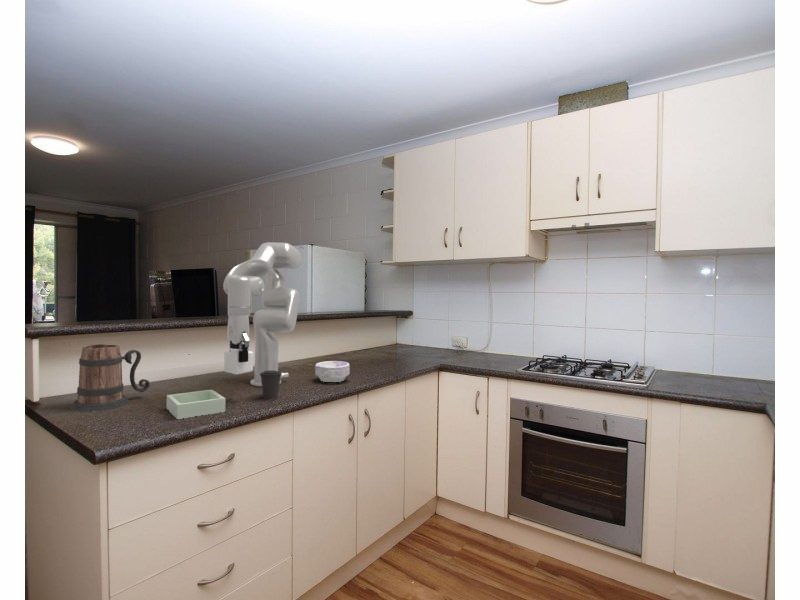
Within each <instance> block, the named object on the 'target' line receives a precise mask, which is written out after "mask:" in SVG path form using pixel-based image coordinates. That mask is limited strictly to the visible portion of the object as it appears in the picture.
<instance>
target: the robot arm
mask: <svg viewBox="0 0 800 600" xmlns="http://www.w3.org/2000/svg"><path fill="white" fill-rule="evenodd" d="M257 248H258V249H257V250H256V251H255V253H254V254H253V256H252V257H251V258H250V259H248V260H246V261H243V262H241V263H239V264H237V265H236V266H234V267H232V268H231V269H230V270H229V272H228V273H227V275H226V276H225V278H224V280H223V284H222V285H223V286H222V287H223V291H224V293H225V294H226V295H227V316H228V318H227V327H226V328H227V330H226V331H227V332H226V333H227V334H226V341H227V342H228V343H230V340H231V341H232V343H233V344H235V345H236V344H238V345H239V349H240V351H239V362H248V351H250V350H249V348H250V319H249V317H250V316H251V297H259V296H261V295H262V298H261V304H262V307H263V308H265V309H258V310H257V311H256V312H255V313H254V314H253V318H252V324H253V328H254V330H253V331H254V377H253V379H251V380H250V382H249V383H250V385H251V386H254V387H255V386H256V387H262V383H261V376H260V373H262V372H264V371H278V372H279V340H278V338H277V336H276V334H275V333H291V332H293V331H294V330H295V327H296V324H297V318H298V313H299V308H300V302H301V301H300V299H301V298H300V293H299V291H298V290H297V289H295V288H293V287H292V288H291V287H290V288H289V287H286V285H287V279H286V277H285V276H284V275H283V273H282V272H281V271H280V270H279V269H285V270H286V269H290V270H294V269H297V268H299V267H300V265H301V263H302V255H301V252H300V251H299V250H298V249H297V248H296V247H294V245H292V244H290V243H288V242H270V241H268V242H264V243H262V244H261V245H259V246H258V247H257ZM264 276H265V277H266V280H265V282H264V280H263V279H262V278H261V277H264ZM241 341H244V342H241ZM242 345H243V346H242ZM229 351H231V350H230V349H229ZM281 373H282V375H281V378H280V384H281V383H282V379H283V378H289V375H290V374H289V372H281Z"/></svg>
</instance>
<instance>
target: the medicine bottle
mask: <svg viewBox="0 0 800 600" xmlns="http://www.w3.org/2000/svg"><path fill="white" fill-rule="evenodd" d="M241 342H244V341H241ZM242 346H243V345H242ZM230 350H231V351H230ZM239 351H240V349H239V345H238V344H236V345H235V344H233V343H232V341H231V340H230V342H229V351H224V362H223V364H224V369H223V370H224V372H225V373H230V374H233V375H242V374H246V373H251V372H253V371H254V351H251V350H248V362H239Z"/></svg>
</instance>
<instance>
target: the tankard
mask: <svg viewBox="0 0 800 600" xmlns="http://www.w3.org/2000/svg"><path fill="white" fill-rule="evenodd" d="M132 354H136V357H135V360H134V362H132V358H133V357H132ZM141 359H142V353H141V352H140V351H139V350H136V349H130V350H128V351H127V352H126V353H125V354H124V355H123V356H122V353H121V348H120V345H117V344H103V343H102V344H99V343H98V344H90V345H87V346H83V347H82V350H81V354H80V358H79V359H78V365H79V370H78V371H79V373H78V375H79V376H78V387H77V388H76V394H77V399H76V400H74V401H73V402H72V405H71V406H70V407H69V408H70V409H71V410H73V411H72V412H75V411H79V412H78V413H92V412H91V411H99V412H104V411H103V410H107V411H111V410H110V409H112V410H116V409H115V408H117V409H120V408H119V407H121V408H123V407H122V406H124V407H126V406H128V405H130V403H131V401H130V400H129V399H128V398H127V396H126V395H124V389H125V388H124V383H123V369H122V367H123V365H122V362H123V360H124V361H125V362H126V363H127V364H130V365H131V367H130V371H129V381H130V384H131V387H132V388H133V390H135V391H136V392H140V393H143V392H145V391H147V390H148V389H149V388H150V381H149V380H147V379H146V378H142V379H140V380H139V381H138V386H139V387H142V388H139V387H137V385H136V381H135V373H136V369H137V367H138V365H139V364H140V362H141ZM143 383H144V384H143ZM129 402H130V403H129ZM127 404H128V405H127ZM125 405H126V406H125ZM70 409H69V410H70ZM71 410H70V411H71ZM84 411H85V412H84ZM88 411H89V412H88Z"/></svg>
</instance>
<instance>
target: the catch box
mask: <svg viewBox="0 0 800 600" xmlns="http://www.w3.org/2000/svg"><path fill="white" fill-rule="evenodd" d="M226 399H227V398H226V397H224V396H222V395H221V394H219V392H217V391H215V390H214V389H205V390H196V391H190V392H183V393H182V392H181V393H175V394H174V393H173V394H167V395H166V410H167V411H168V410H169V411H168V412H169V413H170V414H171V415H172V416H173V417H174V418H175V419H176V420H177V419H178V420H183V418H184V419H189V417H190V418H196V417H195V416H197V417H201V415H203V416H208V414H209V415H214V414H220V412H221V413H225V412H226Z"/></svg>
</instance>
